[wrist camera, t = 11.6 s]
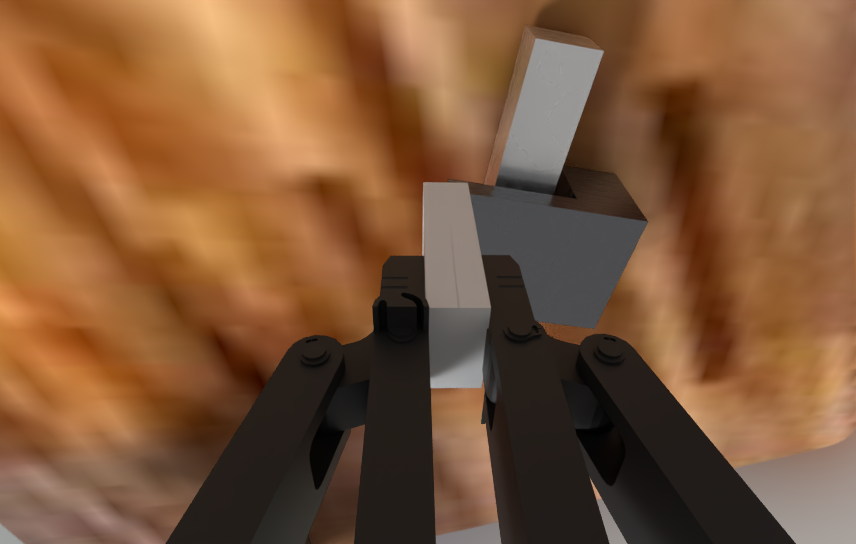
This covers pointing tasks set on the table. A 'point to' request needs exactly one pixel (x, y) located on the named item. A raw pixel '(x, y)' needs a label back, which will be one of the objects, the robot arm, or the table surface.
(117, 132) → the table surface
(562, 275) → the keeper bracket
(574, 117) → the link
